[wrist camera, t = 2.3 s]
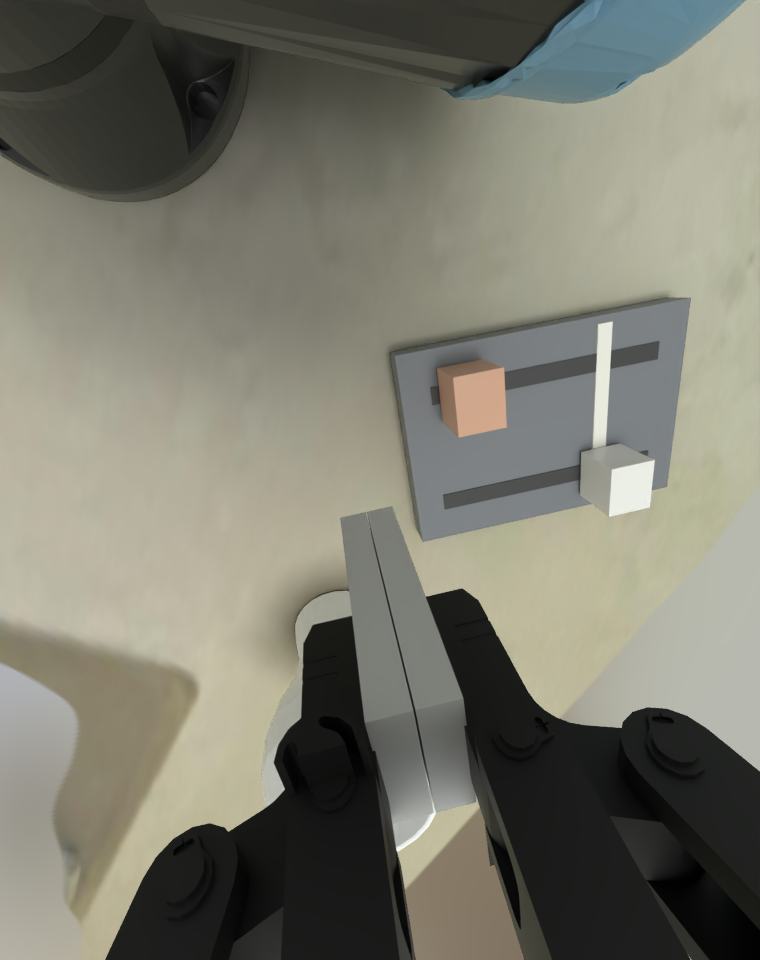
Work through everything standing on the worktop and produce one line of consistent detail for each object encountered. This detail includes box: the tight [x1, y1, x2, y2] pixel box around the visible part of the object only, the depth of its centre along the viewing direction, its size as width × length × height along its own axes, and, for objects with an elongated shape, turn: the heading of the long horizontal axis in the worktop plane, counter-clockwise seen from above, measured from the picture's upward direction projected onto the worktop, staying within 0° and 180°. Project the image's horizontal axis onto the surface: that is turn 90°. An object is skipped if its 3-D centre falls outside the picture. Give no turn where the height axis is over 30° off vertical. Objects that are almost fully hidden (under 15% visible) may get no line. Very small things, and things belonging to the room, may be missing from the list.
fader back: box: [580, 444, 655, 517], centre depth 30 cm, size 4×3×4 cm
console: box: [390, 298, 691, 542], centre depth 31 cm, size 14×20×2 cm
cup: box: [261, 591, 436, 851], centre depth 30 cm, size 11×11×15 cm
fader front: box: [437, 359, 507, 437], centre depth 26 cm, size 4×3×4 cm
